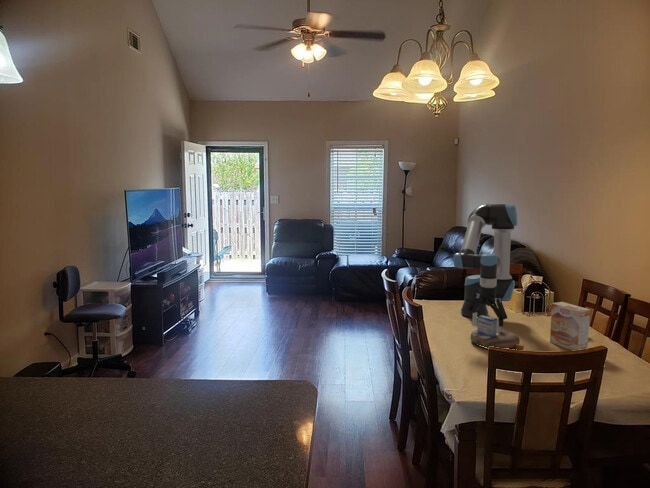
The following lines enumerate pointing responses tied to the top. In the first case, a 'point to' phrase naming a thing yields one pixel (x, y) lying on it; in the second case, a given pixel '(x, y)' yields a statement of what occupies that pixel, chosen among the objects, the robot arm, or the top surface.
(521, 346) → the dial base
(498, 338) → the index dial
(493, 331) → the medicine box
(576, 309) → the coffeecake box
